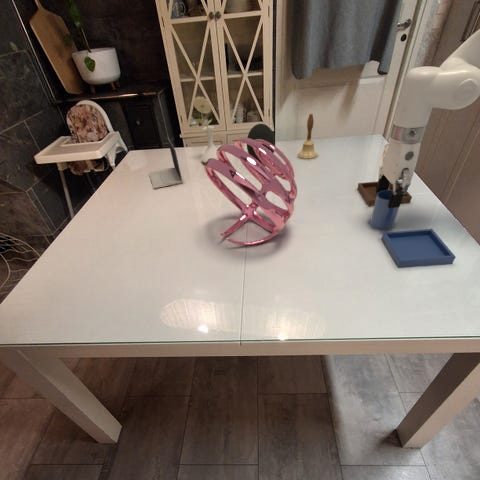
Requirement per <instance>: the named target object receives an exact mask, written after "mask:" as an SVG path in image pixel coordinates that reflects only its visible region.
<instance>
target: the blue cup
mask: <svg viewBox="0 0 480 480" xmlns="http://www.w3.org/2000/svg"><path fill="white" fill-rule="evenodd" d="M391 193H393V190H383V191H380V192H378V193H377V197H376V201H375V205H374V206H373V207H372V208H373V209H372V213H371V217H370V221H369V224H370V226H371V227H372V228H375V229H378V230H389V229H391V228H393V227H394V226H395V223H396V219H397V217H398V213H399V209H400V207H397V208H388V207H387V206H388V203H389V199H390V196H391Z"/></svg>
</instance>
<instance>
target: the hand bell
mask: <svg viewBox="0 0 480 480" xmlns="http://www.w3.org/2000/svg"><path fill="white" fill-rule="evenodd" d="M314 123H315V122H314V114H313V113H310V114H309V115H308V118H307V122H306V128H307V136H306V140H305V141H304V142H303V144H302V149H301V150H300V152H299V153H298V155H297V156H298V158H300V159H304V160H311V159H314V158H316V157H317V156H318V154H317V152H316V150H315V144H314V141H313V140H312V131H313V128H314Z"/></svg>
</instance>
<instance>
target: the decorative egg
mask: <svg viewBox="0 0 480 480" xmlns="http://www.w3.org/2000/svg"><path fill="white" fill-rule="evenodd" d="M246 138H250V139H253V140H255V139H262V140H265V141H268V142H269V143H271V144H273V145H274V146H275V147H276V137H275V134H274V132H273V130H272V129H271V128H270V127H269V126H268V125H267V124H265V123H257V124H255V125H253V126H252V127H251V128H250V130H249V132H248V134H247V136H246ZM262 145H263V146H265V147H266V148H267V149H269V150H270V151H271V152H272V153H273V154H275V151H274V150H272V149H271V148H270V147H268V146H266V145H264V144H262ZM246 149H247V153H249V154H250V155H251V156H253V157H254V158H255V159H257V160H258V161H259V162H260V163H261V164H263V163H262V161H261V160H260V159H259V158H258V156H257V155H256V153H255V151H254V149H253V147H252V146H250V145H248V144H246Z"/></svg>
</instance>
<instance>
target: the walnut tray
mask: <svg viewBox="0 0 480 480" xmlns="http://www.w3.org/2000/svg"><path fill="white" fill-rule="evenodd" d="M397 181H399V180H397ZM377 183H378V181H369V182H358V184H357V191H358V193H359V194H360V195H361V197H362V199H363V201H364V203H365V205H367V207H374V205H375V201H376V197H377V196H375V195H374V191H375V189H376V186H377ZM399 187H402V185H397V189H398V188H399ZM412 198H413V196H412V195H411V194H410V193H409V191H408V190H407V191H406V192H405V194H404V195H403V198H402V201H401V204H400V205H402V204H410V203H411V201H412Z"/></svg>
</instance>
